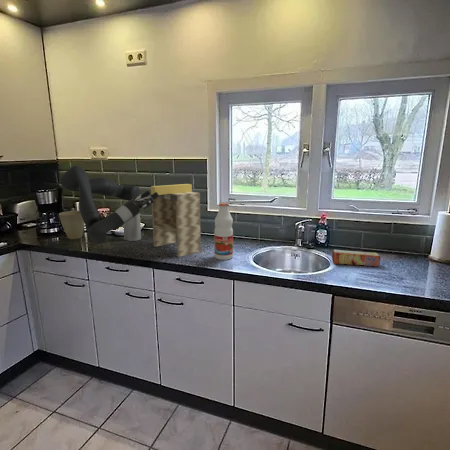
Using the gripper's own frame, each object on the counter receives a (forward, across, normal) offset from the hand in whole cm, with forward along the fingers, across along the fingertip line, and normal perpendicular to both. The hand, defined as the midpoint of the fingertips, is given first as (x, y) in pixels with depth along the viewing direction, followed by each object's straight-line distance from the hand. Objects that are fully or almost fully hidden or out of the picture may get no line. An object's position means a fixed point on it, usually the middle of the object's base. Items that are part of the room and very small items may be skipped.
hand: (153, 192), depth 155 cm
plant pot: (-33, +66, +19) cm, 76 cm away
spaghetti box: (+9, 0, +6) cm, 11 cm away
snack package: (+42, -73, +63) cm, 105 cm away
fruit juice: (+6, -23, +42) cm, 48 cm away
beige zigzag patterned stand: (-2, +5, +36) cm, 37 cm away
